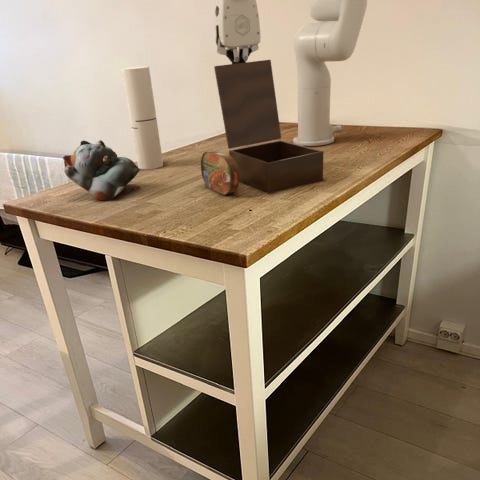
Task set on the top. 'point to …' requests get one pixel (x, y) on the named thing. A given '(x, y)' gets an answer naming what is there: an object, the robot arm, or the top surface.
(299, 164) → the chest
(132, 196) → the top surface
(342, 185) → the top surface
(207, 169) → the tin
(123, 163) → the lucky cat figurine
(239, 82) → the lid
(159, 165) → the cylindrical container
